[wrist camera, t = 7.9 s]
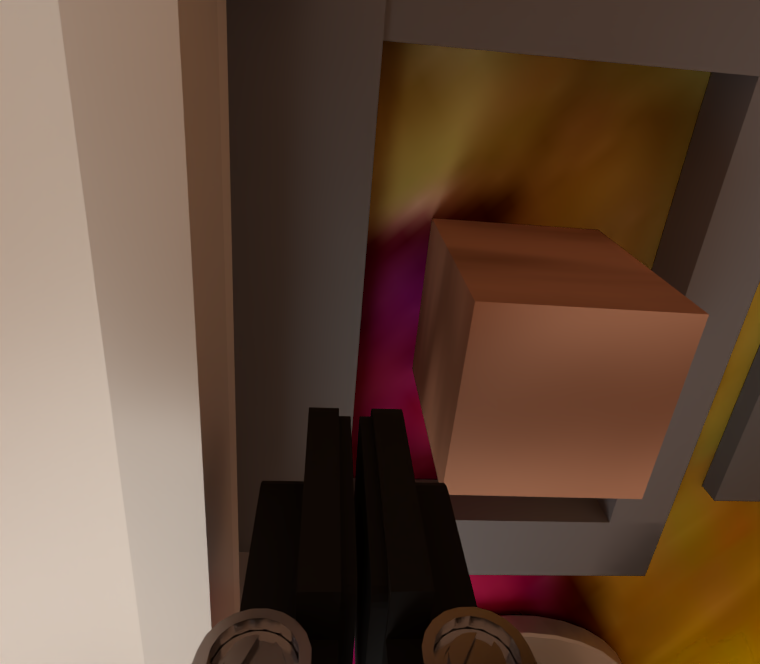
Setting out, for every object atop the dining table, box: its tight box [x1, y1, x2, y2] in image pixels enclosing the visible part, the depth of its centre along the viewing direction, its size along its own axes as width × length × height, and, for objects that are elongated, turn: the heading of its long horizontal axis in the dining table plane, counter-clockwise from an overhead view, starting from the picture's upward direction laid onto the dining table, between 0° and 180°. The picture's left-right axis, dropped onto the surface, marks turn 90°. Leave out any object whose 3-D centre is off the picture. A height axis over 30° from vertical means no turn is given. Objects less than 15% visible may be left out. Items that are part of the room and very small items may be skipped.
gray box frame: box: [226, 0, 760, 606], centre depth 15 cm, size 19×26×8 cm
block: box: [412, 218, 709, 499], centre depth 16 cm, size 5×5×6 cm
